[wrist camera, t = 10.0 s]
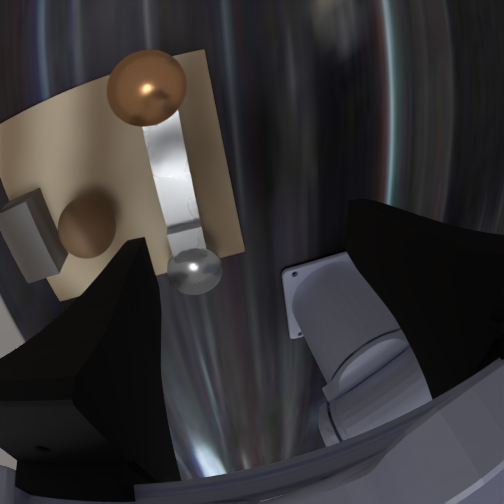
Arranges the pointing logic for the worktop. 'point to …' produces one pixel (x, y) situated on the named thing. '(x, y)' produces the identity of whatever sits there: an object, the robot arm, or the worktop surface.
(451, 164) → the worktop surface
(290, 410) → the worktop surface
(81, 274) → the beige square panel
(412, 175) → the worktop surface
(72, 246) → the brown ball
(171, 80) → the lever
